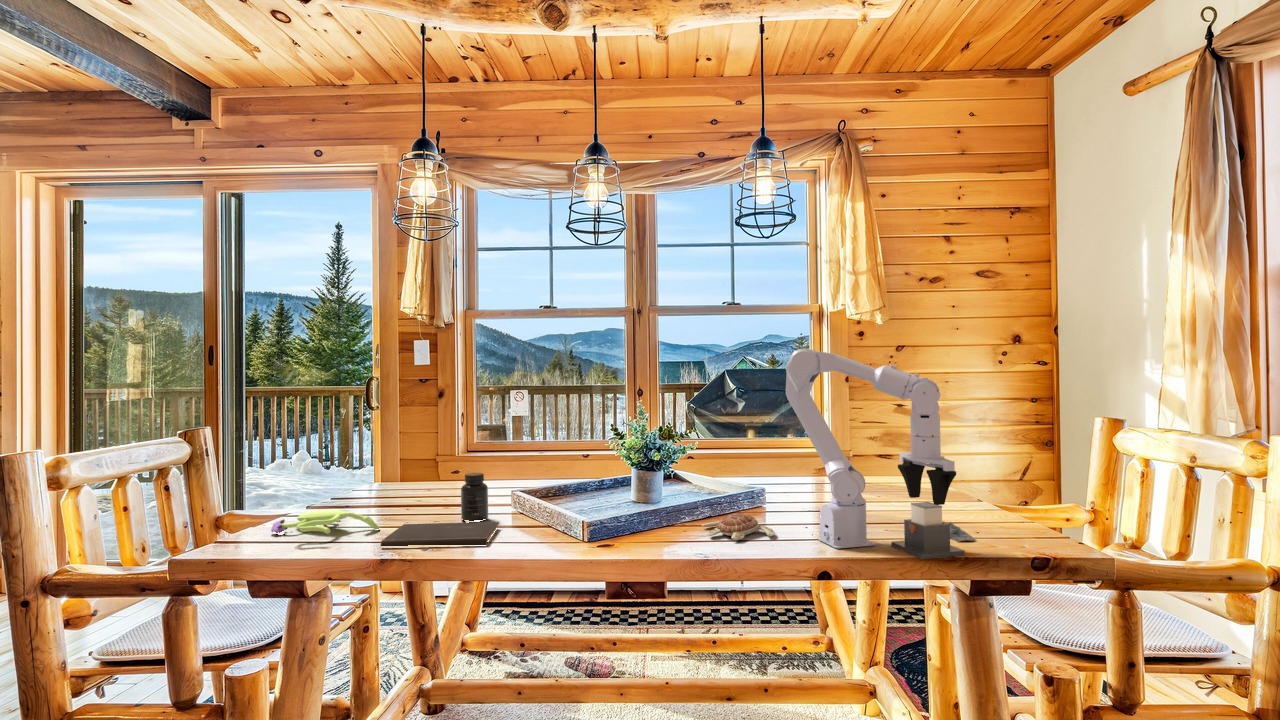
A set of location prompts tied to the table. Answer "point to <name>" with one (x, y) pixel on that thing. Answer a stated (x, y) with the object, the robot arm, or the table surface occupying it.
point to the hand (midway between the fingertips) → (926, 500)
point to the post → (926, 513)
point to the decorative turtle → (737, 526)
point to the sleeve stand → (927, 541)
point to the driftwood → (959, 534)
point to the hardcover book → (441, 534)
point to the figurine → (320, 521)
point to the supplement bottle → (474, 498)
